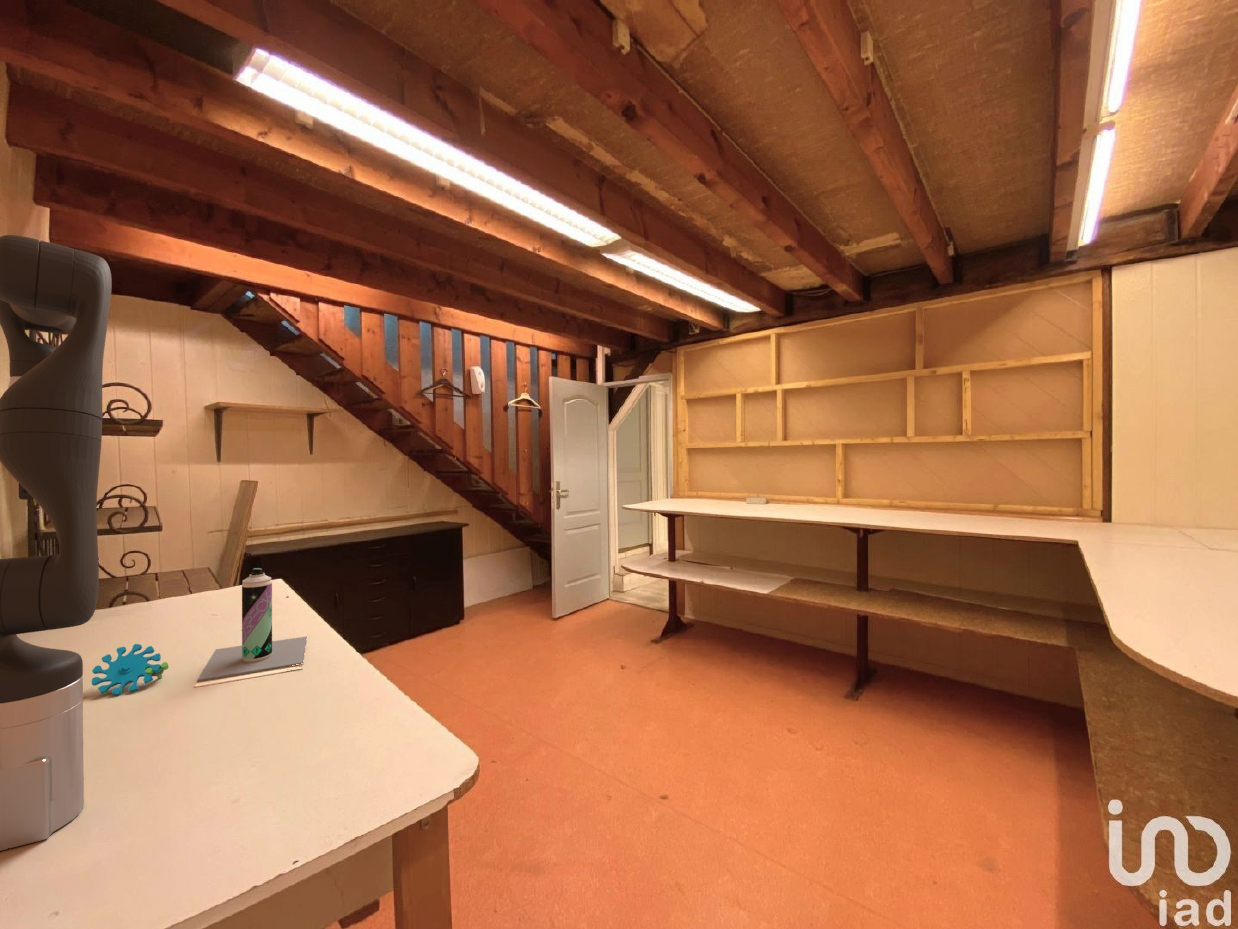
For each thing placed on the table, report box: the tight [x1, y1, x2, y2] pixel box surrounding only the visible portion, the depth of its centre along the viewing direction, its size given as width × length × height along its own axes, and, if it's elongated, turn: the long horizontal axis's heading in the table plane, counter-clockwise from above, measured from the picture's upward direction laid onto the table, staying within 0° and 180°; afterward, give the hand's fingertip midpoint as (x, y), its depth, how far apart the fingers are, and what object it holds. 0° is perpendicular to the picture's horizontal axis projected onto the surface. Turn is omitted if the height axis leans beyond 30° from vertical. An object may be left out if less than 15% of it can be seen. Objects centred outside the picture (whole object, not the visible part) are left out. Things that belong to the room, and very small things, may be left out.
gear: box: [91, 643, 169, 696], centre depth 101 cm, size 11×6×10 cm
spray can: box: [241, 567, 273, 662], centre depth 113 cm, size 6×6×20 cm
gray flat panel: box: [194, 636, 308, 688], centre depth 113 cm, size 21×18×1 cm
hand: (42, 497), depth 89 cm, fingers open, 8 cm apart
